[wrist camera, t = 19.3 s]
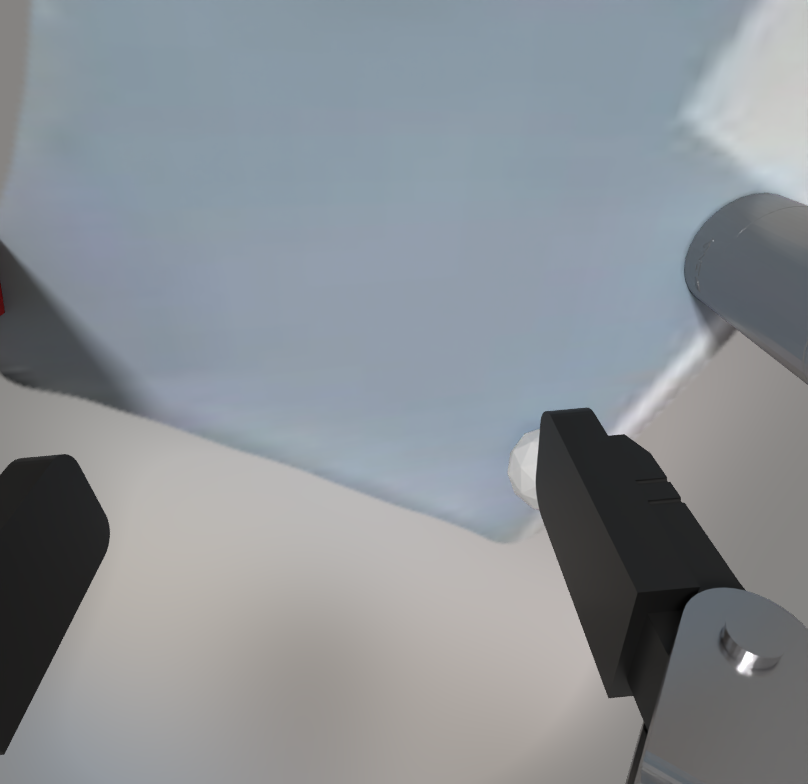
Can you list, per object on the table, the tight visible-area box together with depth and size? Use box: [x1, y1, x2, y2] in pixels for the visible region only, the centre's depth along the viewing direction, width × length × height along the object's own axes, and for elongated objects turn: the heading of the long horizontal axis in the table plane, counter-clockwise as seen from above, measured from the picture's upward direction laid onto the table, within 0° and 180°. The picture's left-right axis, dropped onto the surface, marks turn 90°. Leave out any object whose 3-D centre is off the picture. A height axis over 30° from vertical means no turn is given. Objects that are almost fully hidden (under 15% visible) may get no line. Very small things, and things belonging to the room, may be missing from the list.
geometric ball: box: [508, 429, 540, 510], centre depth 50 cm, size 8×8×8 cm
